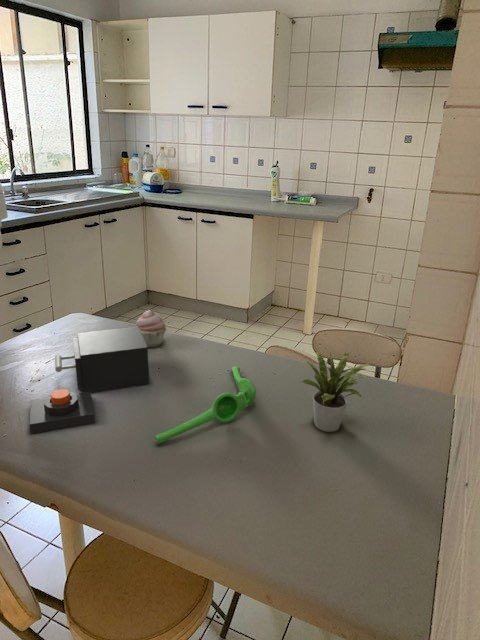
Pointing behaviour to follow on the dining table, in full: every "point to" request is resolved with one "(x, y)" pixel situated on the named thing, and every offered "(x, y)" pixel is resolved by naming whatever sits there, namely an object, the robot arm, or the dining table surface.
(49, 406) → the panel
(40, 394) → the dining table surface
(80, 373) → the basket drawer
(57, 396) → the button
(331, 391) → the house plant
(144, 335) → the cupcake
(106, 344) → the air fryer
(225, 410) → the lime squeezer
